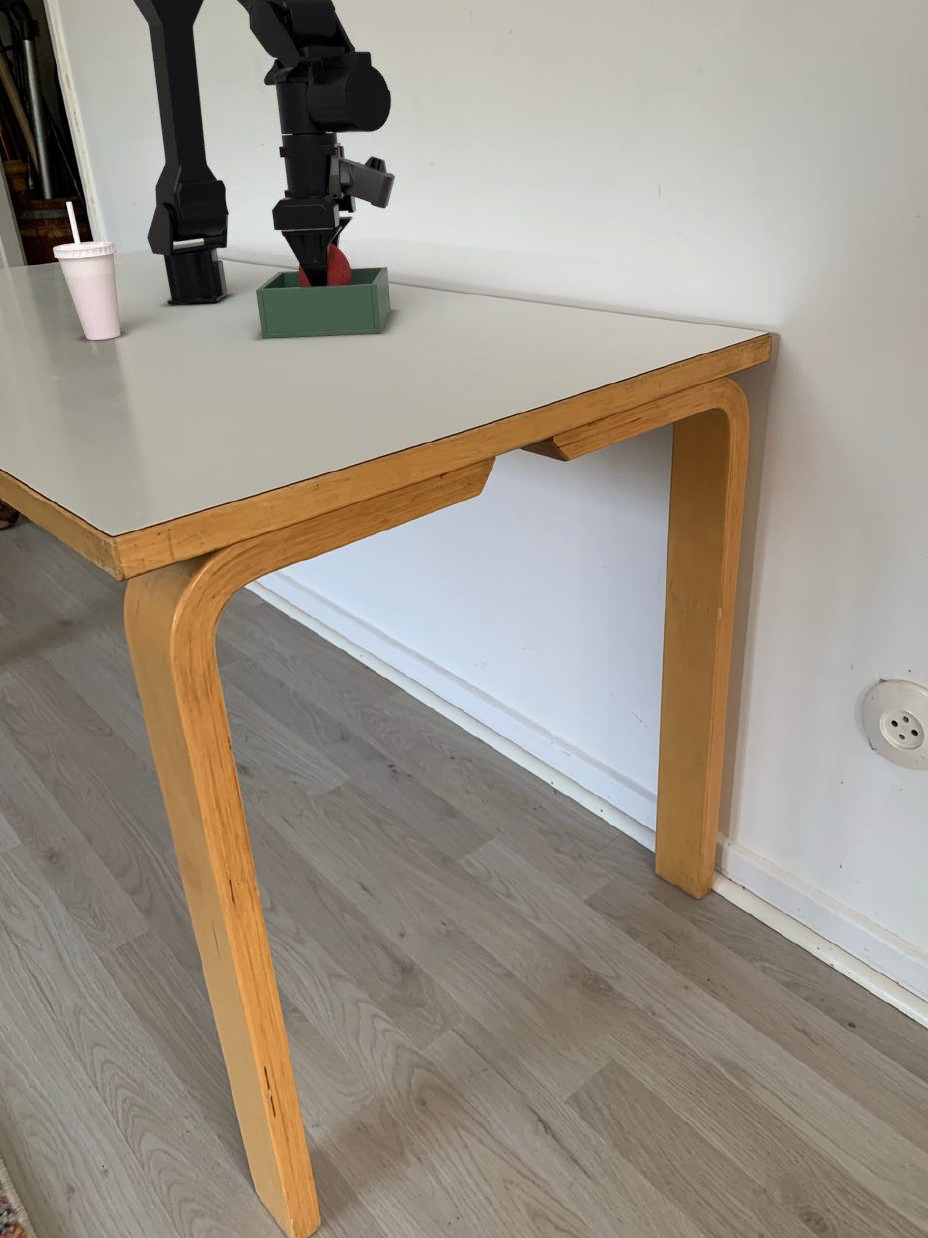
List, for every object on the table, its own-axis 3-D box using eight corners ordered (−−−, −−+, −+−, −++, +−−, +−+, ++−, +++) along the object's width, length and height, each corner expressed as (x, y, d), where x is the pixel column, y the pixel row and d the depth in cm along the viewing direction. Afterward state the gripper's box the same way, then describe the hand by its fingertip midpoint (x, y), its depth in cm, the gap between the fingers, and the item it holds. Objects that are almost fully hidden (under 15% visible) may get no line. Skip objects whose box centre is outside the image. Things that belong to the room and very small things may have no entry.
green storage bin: (262, 338, 103) (255, 289, 100) (284, 315, 114) (278, 271, 112) (380, 333, 102) (376, 284, 100) (390, 311, 113) (387, 266, 111)
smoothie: (70, 335, 109) (39, 202, 102) (127, 327, 111) (100, 197, 105) (77, 344, 104) (45, 205, 97) (137, 336, 106) (110, 200, 100)
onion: (357, 310, 105) (350, 233, 102) (305, 315, 104) (296, 237, 101) (350, 302, 110) (343, 228, 107) (300, 306, 109) (292, 231, 106)
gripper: (377, 132, 91) (390, 302, 98) (393, 128, 107) (403, 274, 114) (261, 137, 91) (282, 307, 98) (295, 132, 107) (311, 278, 115)
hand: (325, 290), depth 106 cm, fingers closed on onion, 6 cm apart
